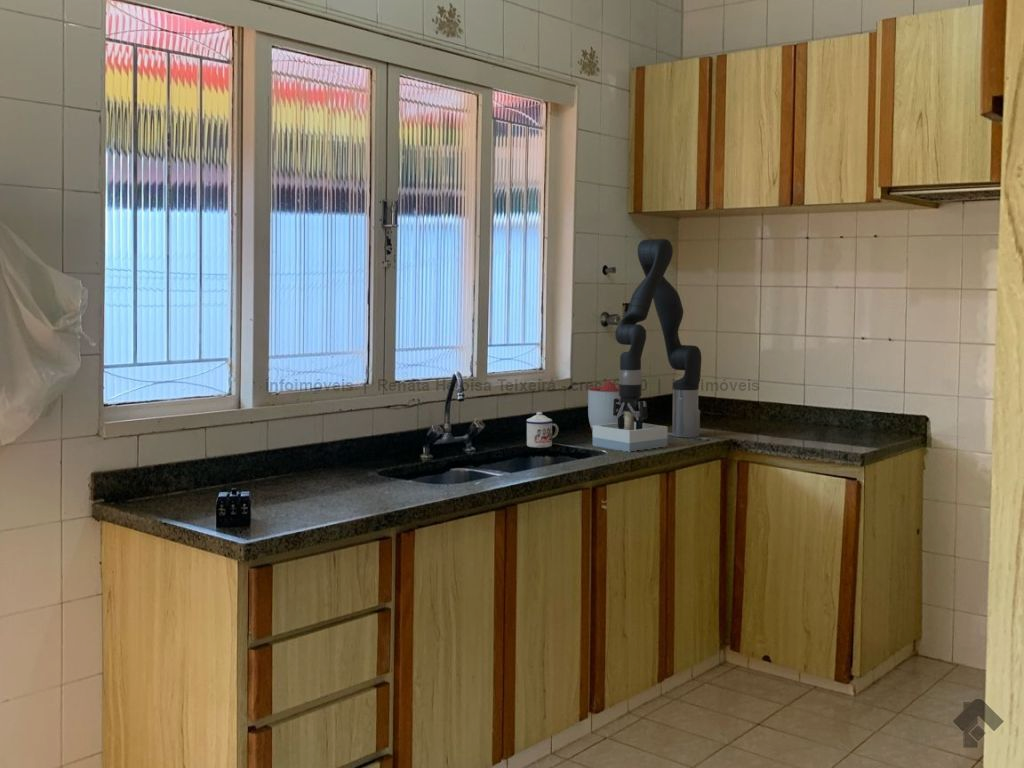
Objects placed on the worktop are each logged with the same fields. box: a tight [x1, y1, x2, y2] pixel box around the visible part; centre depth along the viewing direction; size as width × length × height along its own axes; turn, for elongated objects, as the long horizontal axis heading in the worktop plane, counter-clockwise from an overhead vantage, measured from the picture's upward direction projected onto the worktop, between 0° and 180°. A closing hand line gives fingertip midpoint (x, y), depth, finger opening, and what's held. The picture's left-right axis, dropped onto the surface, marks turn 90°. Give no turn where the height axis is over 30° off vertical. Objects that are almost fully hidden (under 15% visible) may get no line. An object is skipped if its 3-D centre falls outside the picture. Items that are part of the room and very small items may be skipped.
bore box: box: [592, 421, 669, 453], centre depth 355 cm, size 18×18×7 cm
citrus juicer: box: [587, 380, 625, 433], centre depth 384 cm, size 16×17×20 cm
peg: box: [625, 411, 635, 430], centre depth 354 cm, size 3×3×12 cm
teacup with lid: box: [525, 411, 559, 449], centre depth 357 cm, size 12×9×12 cm
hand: (629, 430), depth 354 cm, fingers open, 8 cm apart
